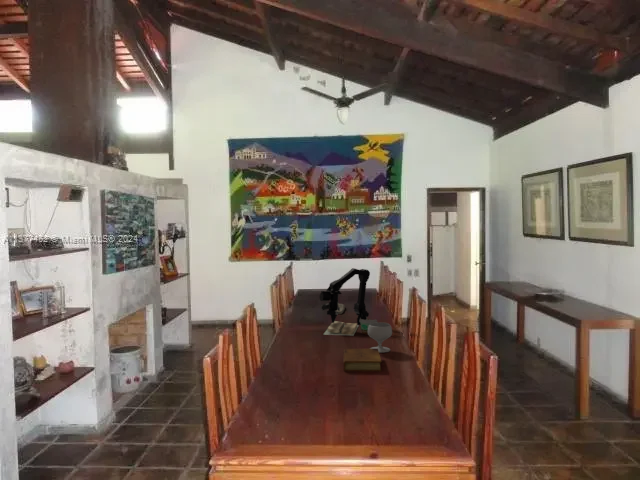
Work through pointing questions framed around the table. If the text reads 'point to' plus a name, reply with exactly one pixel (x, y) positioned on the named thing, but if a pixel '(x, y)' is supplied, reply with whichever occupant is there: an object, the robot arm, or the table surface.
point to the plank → (336, 327)
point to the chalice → (380, 334)
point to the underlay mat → (339, 333)
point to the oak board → (349, 328)
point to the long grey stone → (341, 308)
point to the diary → (361, 360)
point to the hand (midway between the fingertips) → (332, 322)
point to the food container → (366, 325)
